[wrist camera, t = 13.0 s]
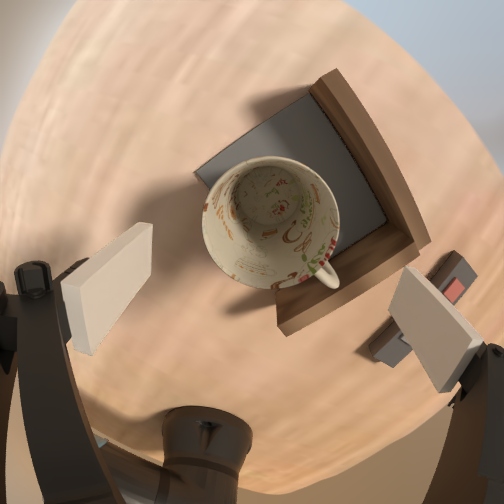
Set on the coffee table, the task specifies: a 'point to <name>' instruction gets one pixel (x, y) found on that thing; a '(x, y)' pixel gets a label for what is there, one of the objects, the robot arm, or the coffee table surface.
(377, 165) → the brown corner wall
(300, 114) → the mat
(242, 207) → the mug
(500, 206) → the coffee table surface
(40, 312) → the robot arm
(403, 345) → the remote
